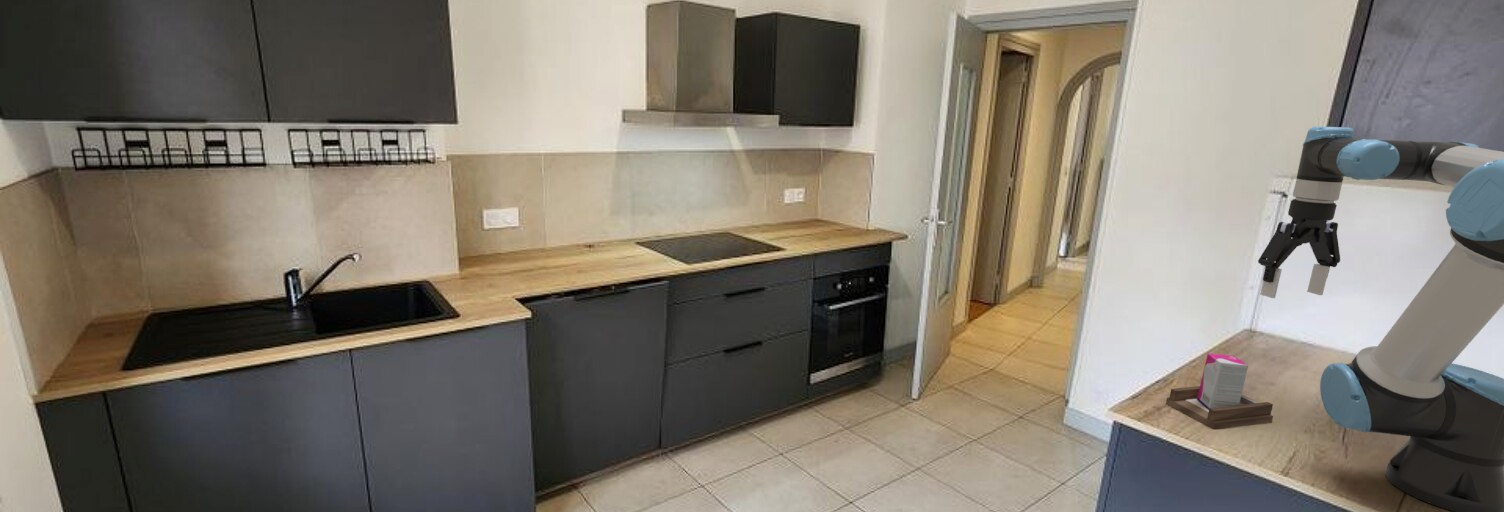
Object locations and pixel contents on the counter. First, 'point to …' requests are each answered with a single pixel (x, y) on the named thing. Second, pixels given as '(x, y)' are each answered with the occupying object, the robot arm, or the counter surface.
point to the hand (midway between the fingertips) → (1291, 295)
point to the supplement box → (1222, 381)
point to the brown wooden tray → (1220, 410)
